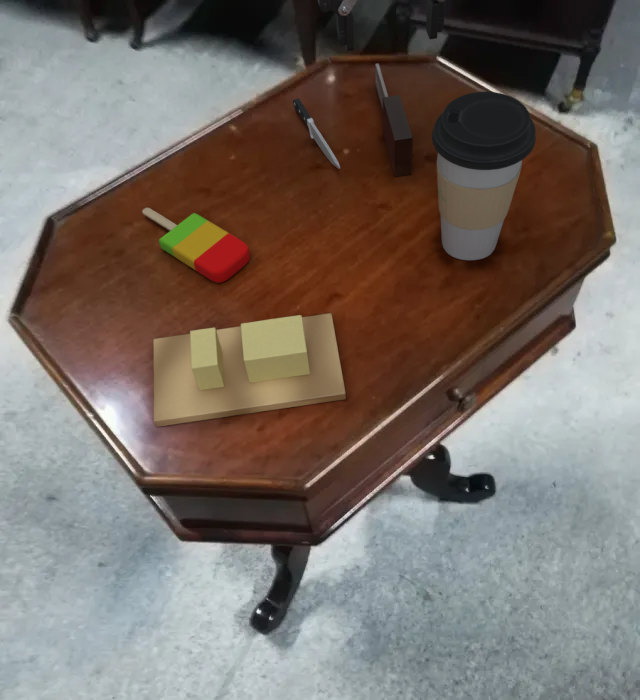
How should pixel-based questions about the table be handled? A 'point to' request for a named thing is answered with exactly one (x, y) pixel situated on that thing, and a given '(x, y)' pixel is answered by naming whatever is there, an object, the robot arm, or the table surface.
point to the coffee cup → (479, 168)
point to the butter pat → (206, 358)
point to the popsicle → (202, 246)
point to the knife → (315, 132)
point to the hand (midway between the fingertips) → (390, 40)
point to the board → (243, 378)
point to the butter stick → (274, 349)
